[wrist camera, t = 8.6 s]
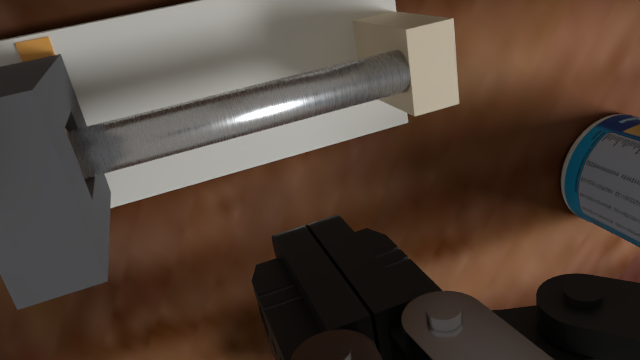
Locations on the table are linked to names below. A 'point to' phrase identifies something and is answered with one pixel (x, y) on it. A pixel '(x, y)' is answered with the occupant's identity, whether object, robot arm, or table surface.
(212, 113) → the metal pipe
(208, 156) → the pipe stand
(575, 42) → the table surface
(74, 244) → the grey sliding block
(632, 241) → the blue canister
